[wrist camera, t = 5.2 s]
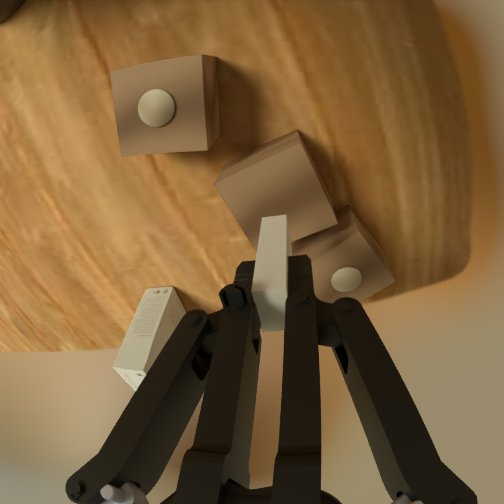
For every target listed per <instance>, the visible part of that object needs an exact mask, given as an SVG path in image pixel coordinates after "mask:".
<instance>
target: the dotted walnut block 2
mask: <svg viewBox="0 0 504 504" xmlns="http://www.w3.org/2000/svg"><path fill="white" fill-rule="evenodd" d="M335 215H336V219H337V222H338V224H336V225H334V226H331V227H329V228H326V229H324V230H321V231H318V232H316V233H313V234H311V235H308V236H306V237H303V238H300V239H298V240H296V241H295V242H294V243H292V244H291V248H292V256H296V255H305V254H307V255H308V257H309V258H310V259H311V264H312V274H313V284H314V293H315V295H316V297H317V298H318V299H319V300H321V301H323V302H327V303H334V302H335V301H336V300H337V299H339V298H343V297H351V298H354V299H356V300H358V301H359V302H360V303H361V302H362V301H364V300H366V299H368V298H369V297H371V296H373V295H374V294H376V293H378V292H380V291H381V290H383V289H385V288H386V287H388V286H390V285H391V284H393V283H395V282H396V281H395V278H394V276H393V273H392V271H391V268H390V266H389V264H388V261H387V259H386V256H385V254H384V252H383V250H382V249H381V247H380V246H379V245H378V243H377V242H376V240H375V239H374V238H373V236H372V235H371V234H370V232H369V231H368V230H367V228H366V227H365V225H364V224H363V223H362V221H361V220H360V219H359V218H358V216H357V215H356V214H355V212H354V211H353V210H352V208H351V207H350V206H349V205H346V206H345V207H343V208H342V209H341V210H339V211H338V212H336V213H335Z"/></svg>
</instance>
